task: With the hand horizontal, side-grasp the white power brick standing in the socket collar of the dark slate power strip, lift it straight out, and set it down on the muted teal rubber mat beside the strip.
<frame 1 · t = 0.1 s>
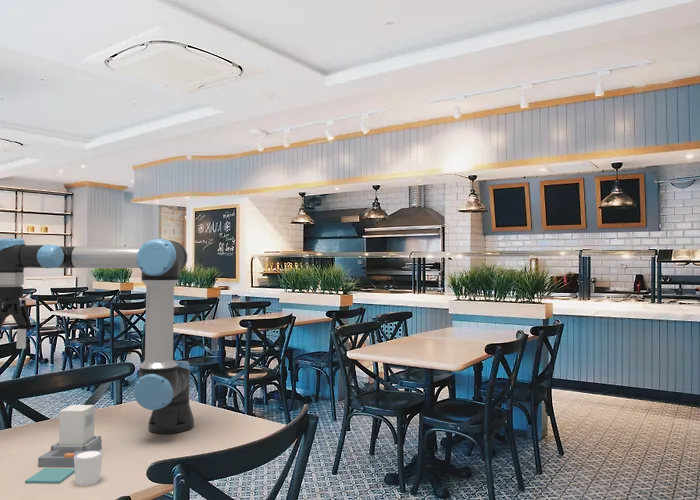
hand: (8, 351, 179), 28 cm above the table, tool pointing down, fingers open, 13 cm apart
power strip: (71, 457, 161), on the table
white cup: (87, 482, 143), on the table
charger: (76, 445, 164), point 2 cm above the table, touching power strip
dock mat: (51, 476, 146), on the table
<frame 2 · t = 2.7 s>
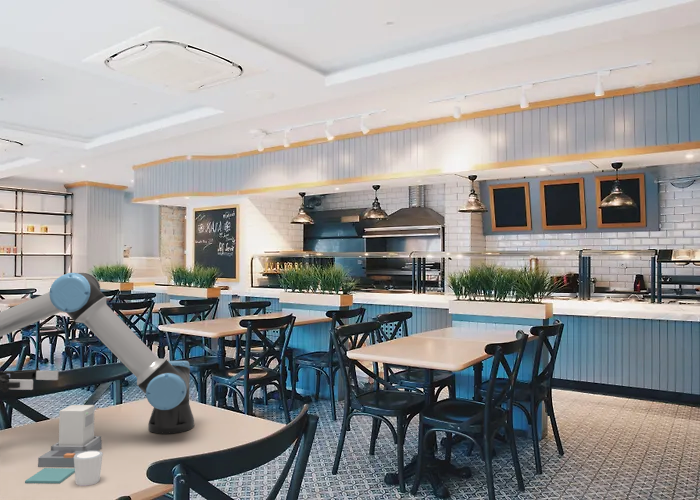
hand: (45, 379, 165), 22 cm above the table, tool horizontal, fingers open, 13 cm apart
nothing on the table moved.
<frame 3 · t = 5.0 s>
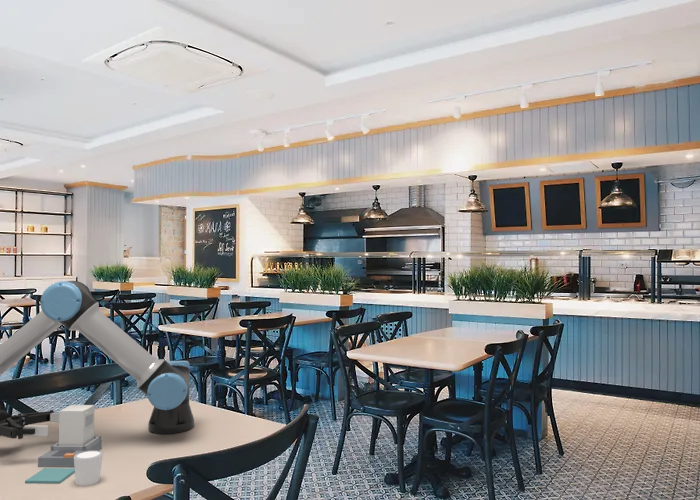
hand: (60, 424, 164), 9 cm above the table, tool horizontal, fingers open, 13 cm apart
nothing on the table moved.
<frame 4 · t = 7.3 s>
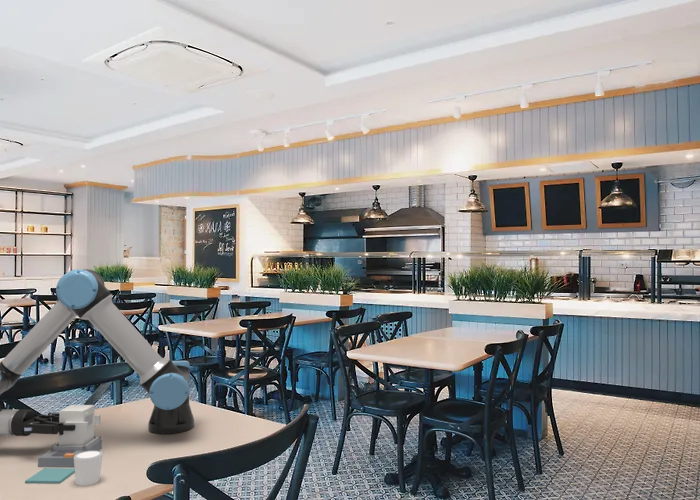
hand: (93, 423, 165), 9 cm above the table, tool horizontal, fingers closed on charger, 7 cm apart
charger: (76, 445, 164), point 2 cm above the table, touching gripper, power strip
everything else where it was.
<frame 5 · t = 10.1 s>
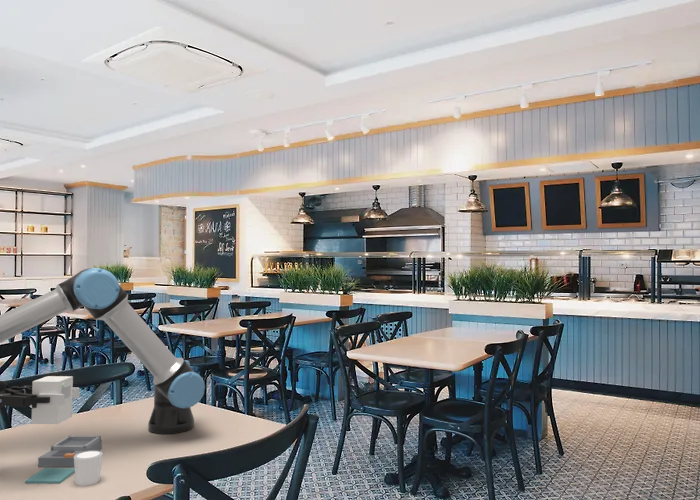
hand: (71, 396, 147), 21 cm above the table, tool horizontal, fingers closed on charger, 7 cm apart
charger: (52, 420, 147), point 15 cm above the table, touching gripper
everything else where it was.
when the fingers open (8 cm above the table, at t = 13.0 s): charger drops 1 cm, resting on dock mat.
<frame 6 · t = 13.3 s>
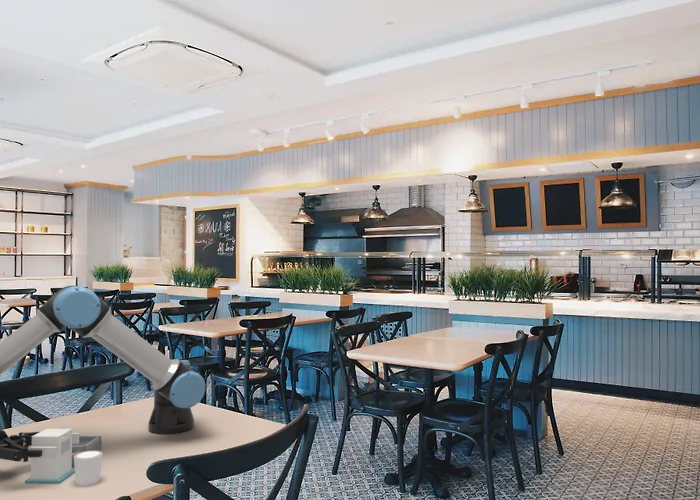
hand: (67, 445, 147), 8 cm above the table, tool horizontal, fingers open, 11 cm apart
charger: (51, 474, 146), point 1 cm above the table, touching dock mat
everything else where it was.
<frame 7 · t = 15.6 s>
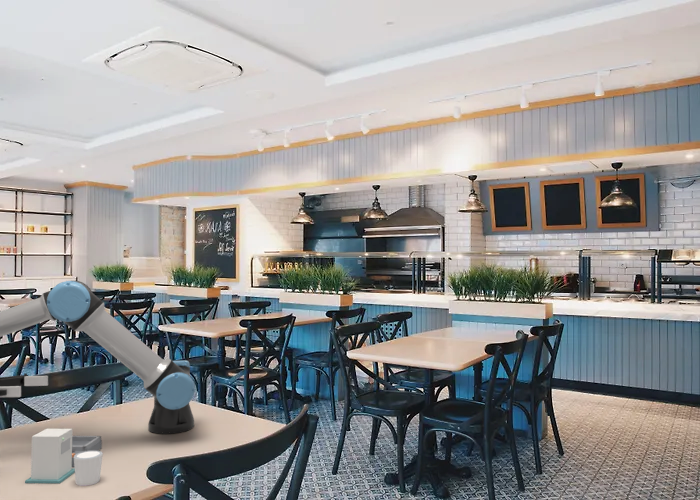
hand: (34, 385, 155), 22 cm above the table, tool horizontal, fingers open, 13 cm apart
nothing on the table moved.
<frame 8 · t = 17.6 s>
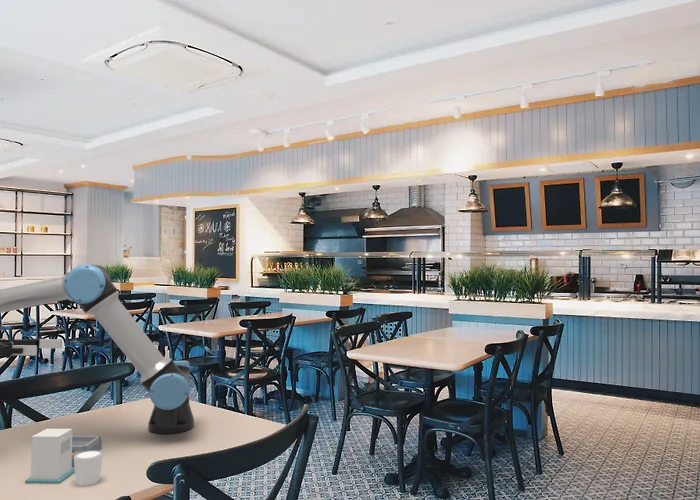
hand: (49, 347, 162), 32 cm above the table, tool horizontal, fingers open, 13 cm apart
nothing on the table moved.
at the end: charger inside the target area on the dock mat (0.1 cm from its centre), point 0.6 cm above the dock mat's base; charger tilted 0°; the gripper is holding nothing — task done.
